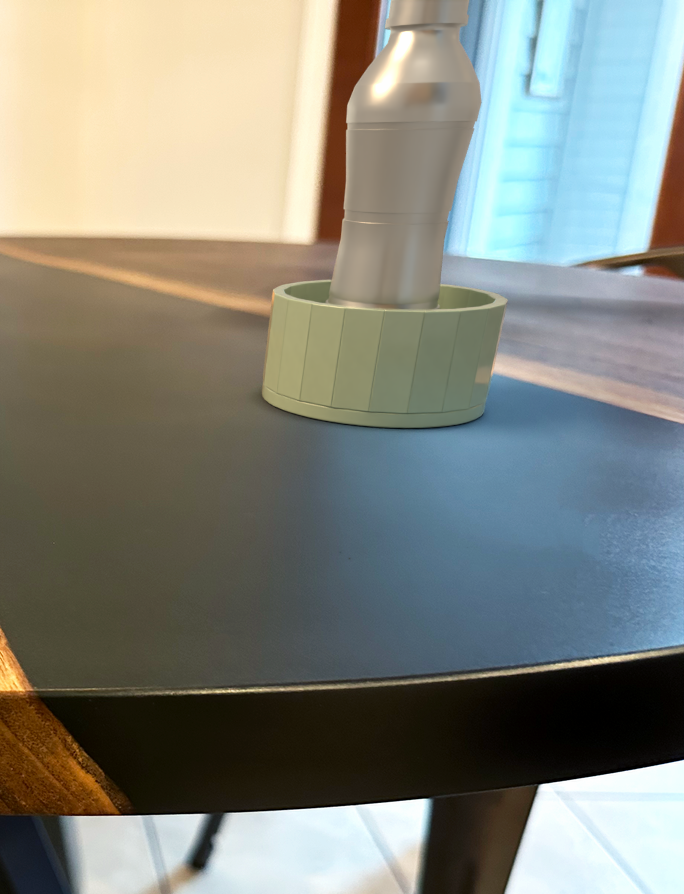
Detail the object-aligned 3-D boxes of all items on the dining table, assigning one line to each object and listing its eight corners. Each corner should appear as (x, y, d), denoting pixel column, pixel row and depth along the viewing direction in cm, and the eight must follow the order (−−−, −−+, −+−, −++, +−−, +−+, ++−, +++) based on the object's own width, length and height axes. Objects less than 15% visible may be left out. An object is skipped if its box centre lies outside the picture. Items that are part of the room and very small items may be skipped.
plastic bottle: (438, 380, 59) (511, -12, 51) (421, 405, 54) (499, -28, 46) (323, 369, 62) (375, -3, 54) (296, 392, 57) (349, -16, 49)
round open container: (416, 375, 64) (433, 277, 62) (530, 425, 53) (557, 308, 51) (232, 380, 63) (243, 281, 61) (311, 431, 52) (327, 313, 50)
